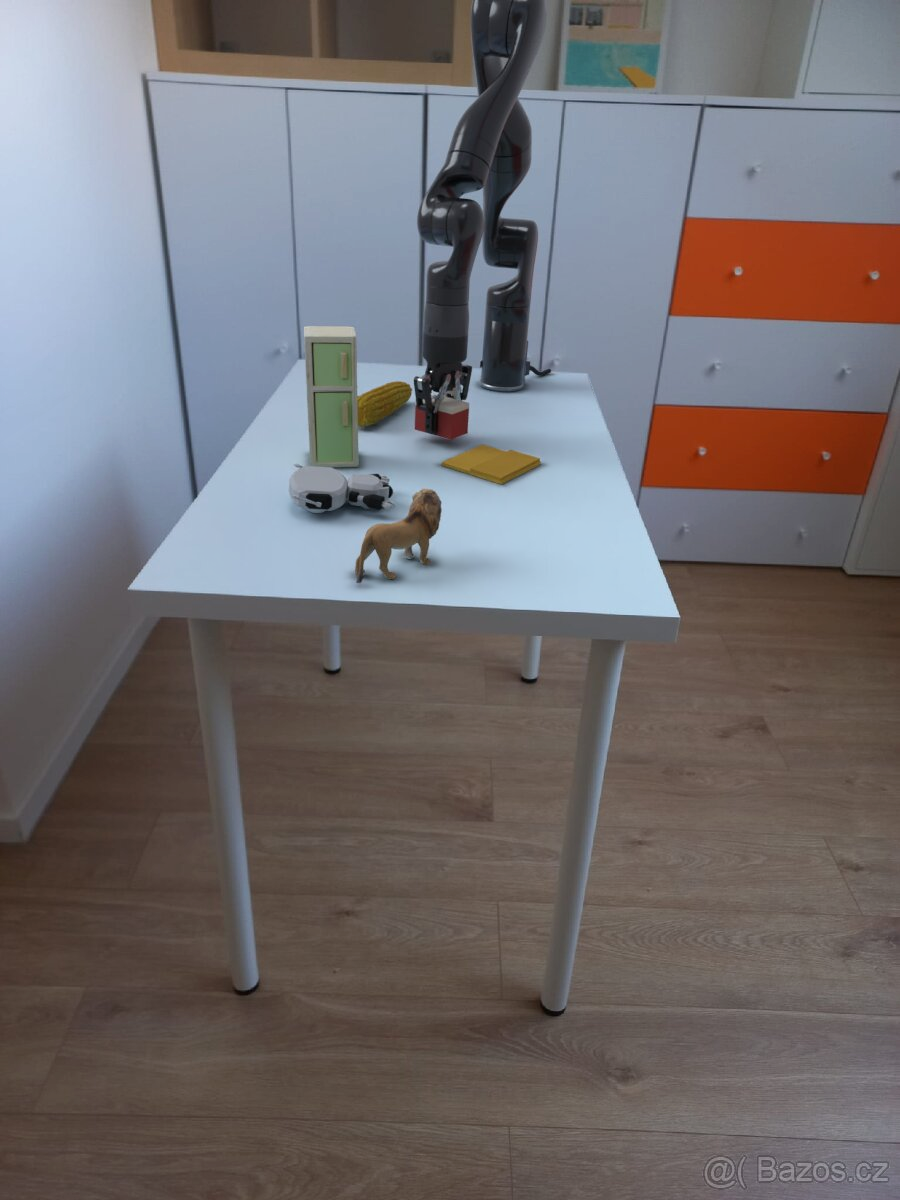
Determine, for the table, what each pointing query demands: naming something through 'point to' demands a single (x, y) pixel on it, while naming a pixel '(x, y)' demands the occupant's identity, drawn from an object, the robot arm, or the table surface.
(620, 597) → the table surface
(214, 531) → the table surface
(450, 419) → the toy cooler box
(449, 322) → the robot arm
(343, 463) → the toy refrigerator
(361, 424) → the food
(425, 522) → the lion figurine
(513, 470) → the cloth
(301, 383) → the table surface
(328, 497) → the robot toy
